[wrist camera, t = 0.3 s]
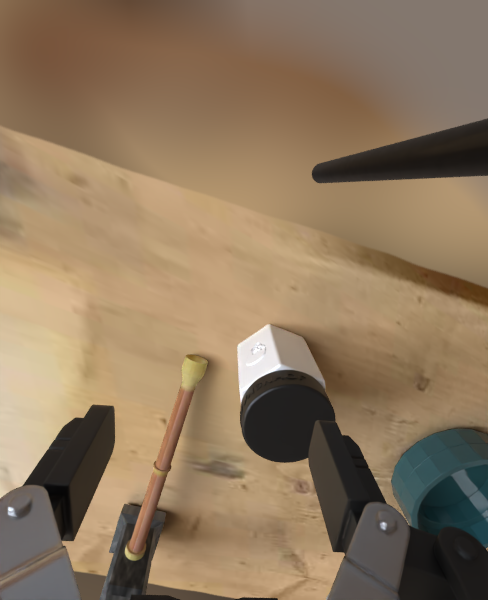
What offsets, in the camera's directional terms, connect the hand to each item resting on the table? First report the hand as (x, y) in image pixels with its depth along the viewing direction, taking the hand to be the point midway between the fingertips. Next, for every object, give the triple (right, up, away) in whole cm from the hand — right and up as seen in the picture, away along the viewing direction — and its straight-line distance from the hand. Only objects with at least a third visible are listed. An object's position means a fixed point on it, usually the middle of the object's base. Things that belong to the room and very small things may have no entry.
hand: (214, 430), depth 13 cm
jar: (+4, -2, +26) cm, 27 cm away
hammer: (-9, -15, +30) cm, 35 cm away
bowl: (+29, -19, +33) cm, 48 cm away
